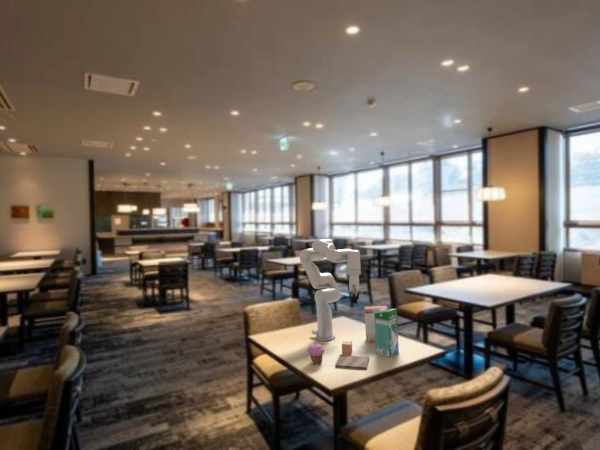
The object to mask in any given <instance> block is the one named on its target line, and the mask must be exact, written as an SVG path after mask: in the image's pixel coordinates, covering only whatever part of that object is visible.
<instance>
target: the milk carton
mask: <svg viewBox="0 0 600 450" xmlns="http://www.w3.org/2000/svg"><path fill="white" fill-rule="evenodd" d="M374 314H375V337H376V342H375V354H377V355H381V356H384V357H388V358H391V357H393V356H396V355H397V354H398V353H400V352H399V349H400V348H399V329H398V308H388V310H386V308H384V309H380V310H379V312H377V313H374Z"/></svg>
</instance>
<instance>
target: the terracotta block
mask: <svg viewBox="0 0 600 450" xmlns="http://www.w3.org/2000/svg"><path fill="white" fill-rule="evenodd" d="M352 354H353V341H347V340H345V341H342V343H341V355H351V356H352Z"/></svg>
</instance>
